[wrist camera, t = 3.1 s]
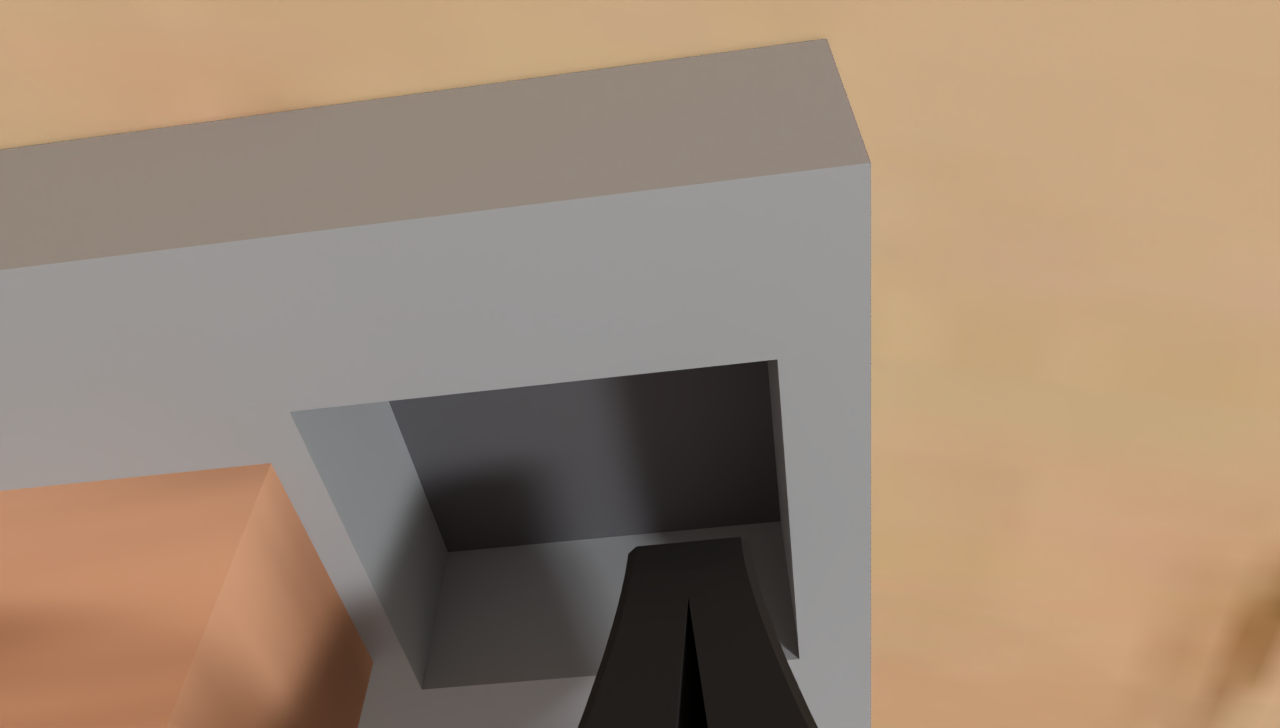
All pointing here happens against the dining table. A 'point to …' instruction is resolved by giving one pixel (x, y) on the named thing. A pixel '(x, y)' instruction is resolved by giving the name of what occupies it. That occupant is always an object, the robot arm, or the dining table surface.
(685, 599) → the robot arm
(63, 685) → the block
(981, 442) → the dining table surface
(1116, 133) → the dining table surface
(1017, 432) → the dining table surface
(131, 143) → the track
